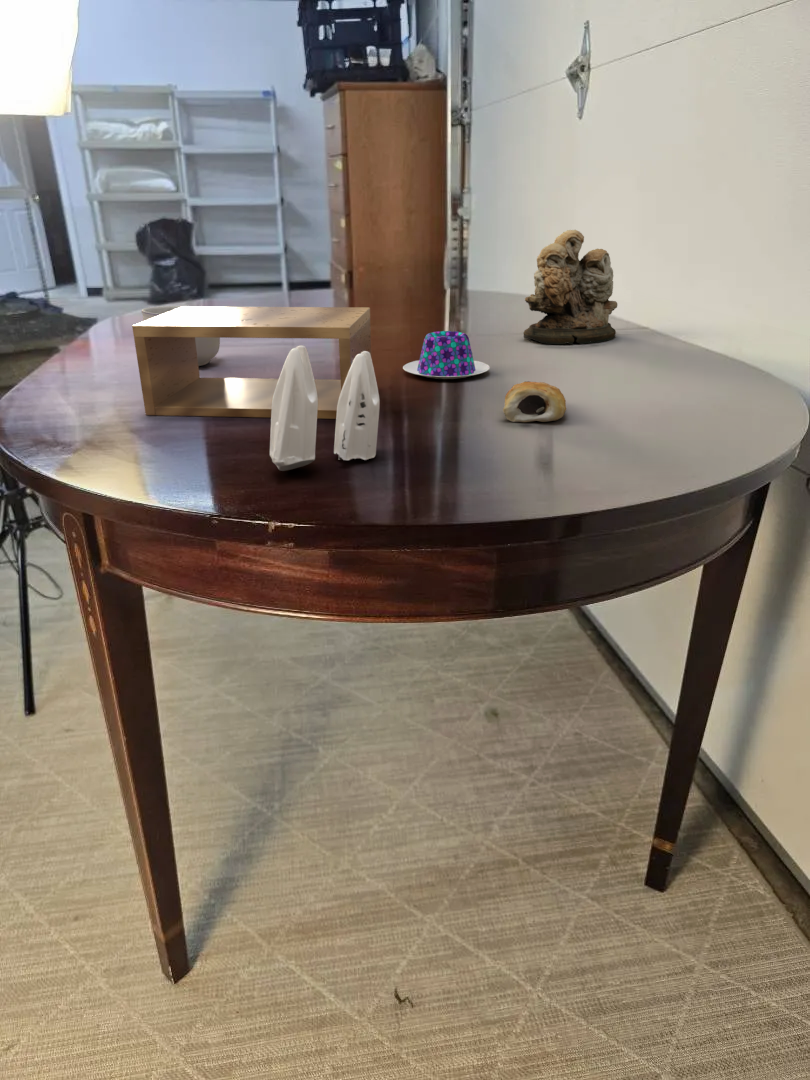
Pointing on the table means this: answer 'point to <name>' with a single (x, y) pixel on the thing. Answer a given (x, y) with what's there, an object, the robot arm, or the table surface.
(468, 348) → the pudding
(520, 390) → the pastry
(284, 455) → the shaker set
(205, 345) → the teacup
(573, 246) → the owl figurine
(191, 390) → the shelf
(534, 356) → the table surface
